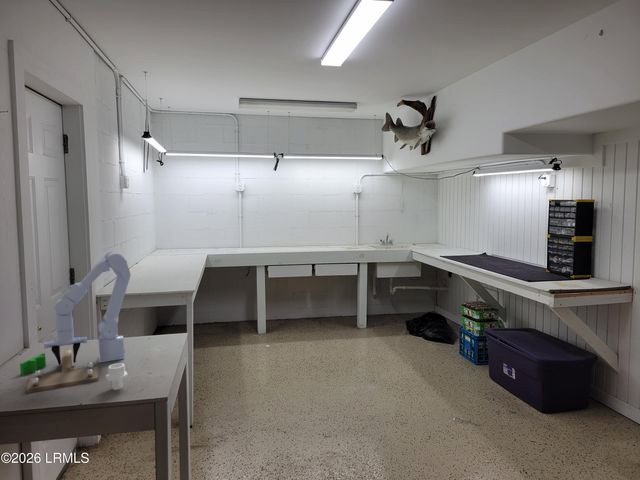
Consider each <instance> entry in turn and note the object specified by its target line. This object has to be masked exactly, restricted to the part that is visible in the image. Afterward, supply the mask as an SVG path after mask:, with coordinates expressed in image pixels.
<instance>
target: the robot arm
mask: <svg viewBox="0 0 640 480" xmlns="http://www.w3.org/2000/svg"><path fill="white" fill-rule="evenodd" d="M111 269H112V271H113V273H114V274H115V275H116V279H115V282H114V285H113V288H112V292H111V294H110V299H109V301H108V304H107V305H108V306H107V308H106V312H105V314H104V315H103V316H102V319H101V320H100V322H99V323H98V325H97V330H98V332H99V333H100V335H99V337H98V351H99V352H98V353H99V355H98V363H107V362H111V361H119V360H125V345H124V335H119V334H118V333H119V329H118V325H119V314H120V312H121V309H122V306H123V301H124V300H125V299H124V298H125V296H126V295H125V294H126V292H127V288H128V285H129V282H130V278H131V271H130V267H129V266H128V261H127V259H125V257H124V256H123V255H122V254H121V253H118V252H117V251H109V252H107V253H106V254H105V255H104V257H102V258H101V259H99V261H98V262H96V264H95V265H94V266H93V267H92V269H91V270H89V272H88V273H87V274H86V275H85V276H84V278H82V280H81V281H80V282H75V283H74V284H71V285H69V289H68V290H67V291H66V292H65V293H64V294H63V295H61V296H60V298H59V299H57V300H56V302H55V304H54V310H55V312H56V313H55V324H56V325H55V326H56V327H55V328H56V338H57V339H56V340H52V341H45V342H44V343H43V347H44V348H43V349H48V348H51V352H52V354H53V355H54V357H55V358H56V361H57V365H58V366H60V365H61V366H62V356H61V347H62V346H69V345H70V346H71V345H72V355H73V356H72V363H73V364H74V363H76V362H77V355H78V353H79V349H80V348H81V344H87V343H88V336H84V337H83V336H80V337H75V333H74V332H75V331H74V330H75V329H74V317H73V311H74V307H75V306H76V305H77V304H78V303H80V301H81V300H82V299H83V297H85V295H86V294H87V293H88V287H90V285H92V284H93V282H95V281H96V279H97V278H98V277H100V276H101V274H103V273H106V272H110V271H111Z"/></svg>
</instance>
